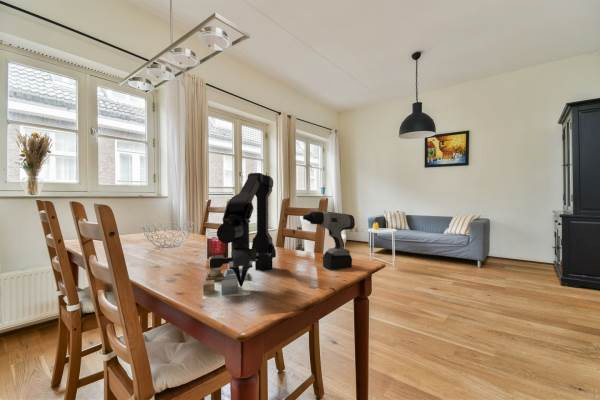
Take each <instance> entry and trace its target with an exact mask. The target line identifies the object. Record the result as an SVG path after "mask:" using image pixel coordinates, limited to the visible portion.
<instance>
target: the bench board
mask: <svg viewBox="0 0 600 400" xmlns="http://www.w3.org/2000/svg"><path fill="white" fill-rule="evenodd" d="M224 280H225V273H224ZM221 286H222V281H219V282H214V294H211V295H202V298H201V299H202V300H206V299H216V298H225V297H226V298H229V297H237V296H249V295H251V291H250V285H249V279H248V280H244V282H243V286H242V287H240V285H239V282H238V294H231V295H221Z"/></svg>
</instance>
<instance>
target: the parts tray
mask: <svg viewBox="0 0 600 400" xmlns="http://www.w3.org/2000/svg"><path fill="white" fill-rule="evenodd" d="M239 271H240V277H241V273H242V268H239ZM224 274H225V280H231V279H237V276H236V274H235V272H234V271H233V269H229V268H228V269H225V271H224ZM244 280H248V281H249V274H248V271H247V273H246V276H245V279H244Z"/></svg>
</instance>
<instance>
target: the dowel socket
mask: <svg viewBox="0 0 600 400" xmlns="http://www.w3.org/2000/svg"><path fill="white" fill-rule="evenodd" d="M224 274H225V271H223V272H222V271H221V277H210V278H209V272H208V273H207V274H206V277H205V281H208V280H214V282H219V281H222V280H224Z"/></svg>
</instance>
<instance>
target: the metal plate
mask: <svg viewBox="0 0 600 400" xmlns="http://www.w3.org/2000/svg"><path fill="white" fill-rule="evenodd" d="M231 294H238V279H231V280H222V286H221V295H231Z"/></svg>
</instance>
